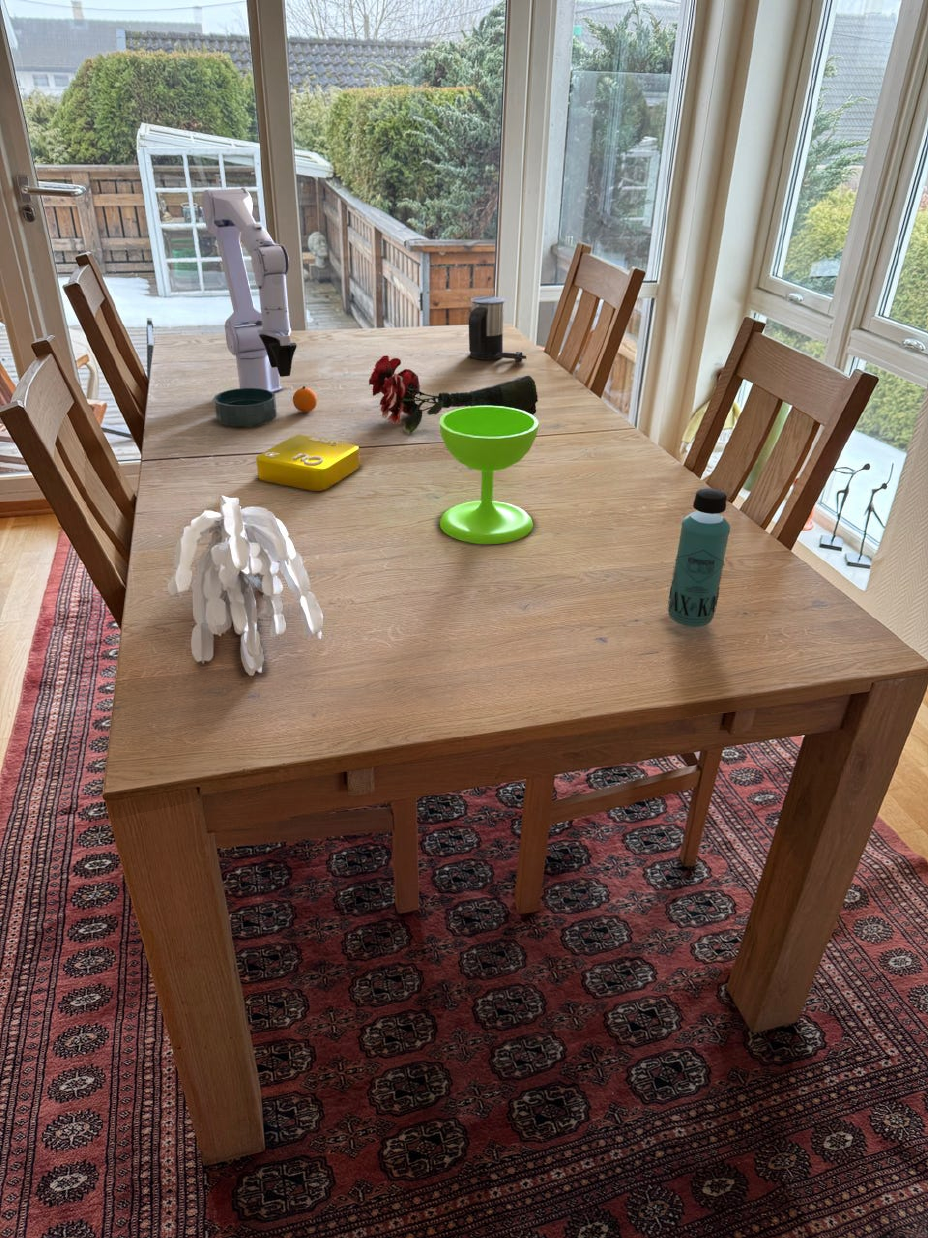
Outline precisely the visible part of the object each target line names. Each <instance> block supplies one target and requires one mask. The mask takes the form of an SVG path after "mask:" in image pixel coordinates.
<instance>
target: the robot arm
mask: <svg viewBox="0 0 928 1238" xmlns="http://www.w3.org/2000/svg"><path fill="white" fill-rule="evenodd" d="M201 209H202V215H203V219H204V224H205V227H206V228H207V232H208V233H209V234H211V235H213V236H215V240H216V242H217V245H218V250H219V253H220V257H221V263H222V266H223V267H222V268H223V271H224V275H225V279H226V284H227V288H228V294H229V297H230V302H231V305H232V306H231V307H232V310H233V312H232V314H231V315H229V317H228V318H227V319H226V320H225V322H224V331H225V342H226V346H227V349H228V351H229V352H230V354H231V355H233V356H235V360H236V361H235V362H236V367H237V370H236V371H237V378H238V387H239V388H260V389H265V390H269V391H271V392H273V393H276V392H278V391H280V390H283V389H284V387H283V386H282V385H281V381H280V378H284V377H290V376H291V372H292V364H293V358H294V355H295V352H296V350H297V347H298V344H297V343H296V342H291V338H290V337H291V333H292V328H291V326H290V325H291V324H290V323H291V322H290V313H289V302H288V301H289V299H288V289H287V276H286V275H288V273H289V271H290V259H289V254H288V251H287V249H286V247H285V245H284V244H282V243H281V244H280V243H275V242H274V239H272V237H271V235H270V234H269V232H268V231H267V229H266V228H265V227H264V226H263V225H262V224H260V223H257V222H256V220H255V217H253V210H254V209H253V200H252V195H251V193H250V191H248V190H247V188H245V187H241V188H232V189H231V188H229V189H212V190H210V189H204V190H203V192H202V194H201ZM240 241H241V242H240ZM241 243H242V245H243V247H244V249H245V250H246V251H247V253H248V255H249V256H250V258H251V260H250V261H251V267H252V270H253V274H254V279H255V284H256V285H257V287H258V295H259V304H260V311H259V310H257V309H256V308H255V303H254V299H253V295H252V291H251V286H250V282H249V277H248V273H247V267H246V264H245V259H244V255H243V251H242V246H241Z"/></svg>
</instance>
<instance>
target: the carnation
mask: <svg viewBox="0 0 928 1238" xmlns="http://www.w3.org/2000/svg"><path fill="white" fill-rule="evenodd" d="M401 364H402V361H401V359H400V358H398V357H393V358H391V359H390V356H389V355H387V354H386V355H382V356H381V357H380V358H379V359H378V360H377V361H376V363H375V365H374V368H373V371H372V373H371V375H370V377H369V379H368V385H369V386H370V385H372V396H373V397H375V396H376V395H379V394H382V395H383V396H382V397H381V399H380V401H379V404H378V405H379V406H380V410H379V411H380V413H381V418H382V419H384V420H387V421H389V423H391V424H396V423H398V424H401V414H402V413H403V414H406V415H407V416H408V417H407V418H406V421H405V423H404V430H405V432H406V433H407V434H409V435H412V434H413V432H414V431H415V430H417V428H418V427H419V425H420V423H421V421H422V419H423V412H425V411H427V412H426V414H427V415H430V416H431V415H437V414H439V413H441V411H442V409H449V408H450V407H451V408H463V407H471V406H502V407H509V408H515V409H518V410H522V411H525V412H527V413H530V414H532V415H533V416H534V415H535V414H536V413H537V406H536V403H538V402H539V398H538V391H537V384H536V381H535V379H534V378H533V377H532V376H531V375H526V376H525V375H524V376H521V377H516V378H515V379H511V380H508V381H505V382H500V383H497V384H495V385H490V386H485V387H482V388H479V389H475V390H470V391H461V392H459V391H458V392H457V391H456V392H451V393H449V392H447V391H446V392H439V393H438V395H432V394H428V393H425V392H422V391H421V389H420V388H421V387H420V380H419V376H418V375H417V374H416V373H415V372H414V371H412V370H411V369H408V368H404V369H403V370H401V371H400V372H398V373H395V372H396V370H397V368H398V367H399V366H401ZM421 396H426V397H430V398H421ZM430 400H431V401H430ZM436 400H437V401H436ZM417 402H419V403H417ZM425 403H429V404H433V405H432V406H430V407H428V408H424V409H421V407H422V405H423V404H425ZM389 413H390V415H389ZM388 415H389V416H388Z"/></svg>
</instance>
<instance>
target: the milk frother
mask: <svg viewBox="0 0 928 1238" xmlns="http://www.w3.org/2000/svg"><path fill="white" fill-rule="evenodd" d="M470 301H471V311H470V314H469V317H468V350H469V351H468V352H470V353H469V356H470V357H471V358H474V359H478V360H487V361H488V360H498V359H513V360H514V362H515V363H522V362H523V360H526V359H527V355H524V354H523V352H522V351H516V352H515V353H514V352H504V315H505V314H504V313H505V311H504V310H505V302H506V299H505V298H503V297H499V296H491V295H483V296H480V295H479V296H475V297H471V298H470Z"/></svg>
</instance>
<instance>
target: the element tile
mask: <svg viewBox="0 0 928 1238" xmlns="http://www.w3.org/2000/svg"><path fill="white" fill-rule="evenodd" d="M359 450H360V449H359V446H358V445H357V444H353V443H348V442H342V441H337V440H333V439H326V438H320V437H315V436H309V435H304V434H296V435H294V436H291V437H289V438H287V439H285V440H284V441H282V442H280V443H278V444H276V445H275V446H273V447H271V448H268V449H267V450H265V451H263V452H262V453H260V454H258V455H257V456H256V457H255V461H256V470H257V477H258V479H259V480H261V481H263V482H268V483H271V484H276V485H277V484H278V485H282V486H286V487H290V488H291V487H292V488H295V489H296V488H297V489H301V490H306V491H312V492H323V491H326V490H328V489H329V488H331V487H333V486H334V485H336V484H337V483H339V482H340V481H342V480H343V479H345V478H346V477H348V476H350V475H351V474H352V473H354V472H356V471H357V470H358V469H359V468H360V451H359Z"/></svg>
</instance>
